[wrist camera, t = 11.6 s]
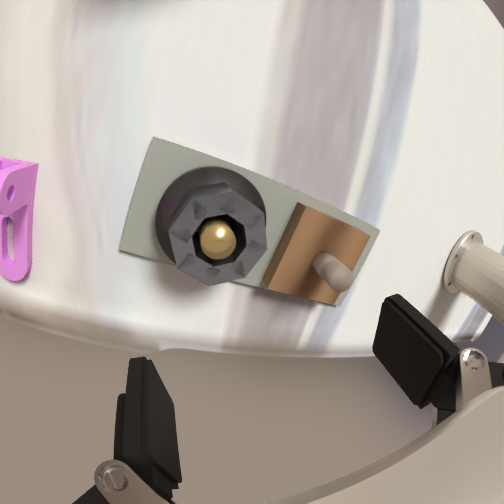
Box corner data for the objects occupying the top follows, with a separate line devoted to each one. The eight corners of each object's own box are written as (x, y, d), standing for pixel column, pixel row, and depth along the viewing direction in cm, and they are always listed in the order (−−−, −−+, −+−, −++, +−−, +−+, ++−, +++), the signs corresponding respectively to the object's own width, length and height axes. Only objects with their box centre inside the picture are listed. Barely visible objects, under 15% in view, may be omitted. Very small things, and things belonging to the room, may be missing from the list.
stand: (360, 229, 30) (394, 251, 25) (326, 295, 33) (352, 326, 28) (297, 201, 27) (328, 221, 22) (261, 279, 30) (281, 313, 24)
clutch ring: (248, 177, 24) (261, 186, 20) (257, 252, 27) (269, 272, 23) (165, 193, 22) (162, 204, 19) (182, 268, 25) (183, 291, 22)
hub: (278, 187, 26) (303, 203, 21) (238, 277, 29) (253, 311, 24) (177, 150, 22) (176, 155, 17) (144, 252, 25) (136, 283, 20)
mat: (377, 228, 32) (380, 230, 31) (337, 303, 35) (339, 306, 35) (153, 136, 22) (153, 136, 21) (120, 247, 25) (119, 249, 25)
